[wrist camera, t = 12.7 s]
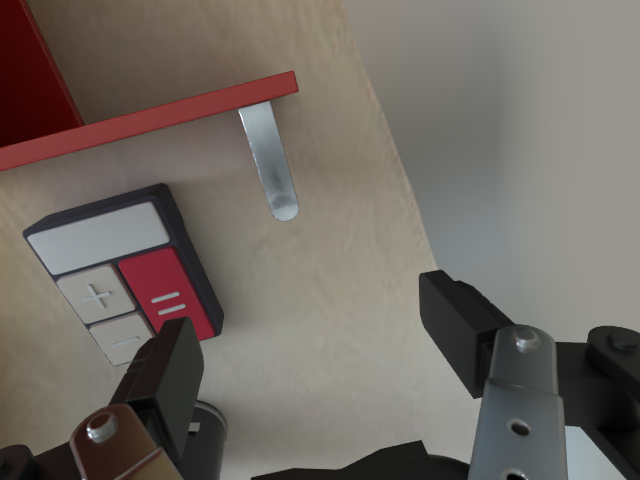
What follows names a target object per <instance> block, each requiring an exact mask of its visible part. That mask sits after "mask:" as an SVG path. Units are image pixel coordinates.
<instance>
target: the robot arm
mask: <svg viewBox="0 0 640 480" xmlns="http://www.w3.org/2000/svg"><path fill="white" fill-rule="evenodd" d="M419 302H420V316H421V320H422V323H423V326H424V328H425V329H426V331H427V332H428V334H429V335H430V337H431V338H432V339H433V341H434V342H435V344H436V345H437V347H438V348H439V350H440V351H441V352H442V354H443V355H444V357H445V358H446V360H447V361H448V363H449V364H450V365H451V367H452V368H453V370H454V371H455V373H456V374H457V376H458V377H459V378H460V380H461V381H462V383H463V384H464V386H465V387H466V388H467V390H468V391H469V393H470V394H471V396H472V397H473V399H476V398H481V397H482V402H481V408H480V413H479V419H478V424H477V430H476V435H475V441H474V447H473V452H472V458H471V463H470V465H469V464H467V463H464V462H461V461H459V460H456V459H453V458H449V457H445V456H440V455H432V454H427V451H426V449H425V447H424V445H423V443H422V440H419V441H415V442H410V443H405V444H401V445H396V446H392V447H387V448H383V449H380V450H378V451H376V452H374V453H372V454H370V455H368V456H366V457H364V458H362V459H360V460H358V461H356V462H354V463H352V464H350V465H348V466H346V467H344V468H342V469H337V470H332V469H304V468H292V469H288V470H283V471H279V472H274V473H270V474H265V475H261V476H256V477H252V478H251V480H568V472H567V471H568V470H567V454H566V437H565V426H576V427H580V428H581V429H582V430H583V431H584V432H585V433H586V434H587V435H588V436H589V438H590V439H591V440H592V441H593V442H594V443H595V444H596V446H597V447H598V448H599V449H600V450H601V451H602V452H603V454H604V455H605V456H606V457H607V458H608V459H609V460H610V462H611V463H612V464H613V465H614V466H615V467H616V468H617V469H618V471H619V472H620V473H621V474H622V475H623V476H624V477H625V478H626V479H627V480H640V333H638V332H636V331H633V330H630V329H626V328H622V327H616V326H600V327H596V328H594V329H592V330H590V332H589V334H588V339H587V343H573V342H572V343H571V342H555V341H554V339H553V338H552V337H551V336H550V335H549V334H547V333H546V332H544V331H542V330H540V329H538V328H535V327H532V326H528V325H521V324H515V323H514V322H512V321H511V320H510V319H509V318H508V317H507V316H506V315H505V314H503V313H502V312H501V311H500V310H499V309H498V308H497V307H495V305H493V304H492V303H490V301H489V300H488V299H487V298H486V297H484V296H482V294H481V293H480V292H479V291H478V290H477V289H475V288H474V287H473V286H471V285H469V284H467V283H464V282H462V281H454V280H453V279H451V278H450V277H449V276H448V275H447V274H446V273H445V272H444V271H443V270H436V271H431V272H425V273H421V274H420V275H419ZM203 370H204V360H203V354H202V351H201V347H200V344H199V341H198V338H197V335H196V332H195V329H194V325H193V322H192V320H191V318H190V317H189V316H185V317H180V318H174V319H169V320H165V321H164V323H163V325H162V327H161V329H160V331H159V333H158V335H157V337H153V338H150V339H149V340H148V341H147V342H146V343H144V344H143V345H142V346H141V347H140V348H139V349H138V351H137V353H136V355H135V356H134V358H133V360H132V363H131V364H130V366H129V368H128V369H127V373H125V375H124V377H123V379H122V380H121V382H120V384H119V386H118V388H117V390H116V392H115V393H114V395H113V397H112V399H111V401H110V403H109V404H108V406H106V407H104V408H101V409H99V410H98V411H96V412H94V413H93V414H91V415H90V416H88V417H87V418H86V419H84V420H83V421H82V422H81V423H80V424H79V425H78V426H77V428H76V429H75V430H74V432H73V434H72V436H71V438H70V441H69V442H67V443H65V444H62V445H60V446H58V447H55V448H53V449H51V450H48V451H46V452H44V453H42V454H39V455H37V456H35V457H34V455H33V454H32V452H31V451H30V449H29V448H28V447H27V446H25V445H12V446H8V447H5V448H3V449H0V480H220V475H221V467H222V461H223V452H224V444H225V441H226V435H227V424H226V421H225V419H224V417H223V416H222V415H221V413H220V412H219V411H217V410H216V409H215V408H213V407H211V406H210V405H207V404H205V403H201V402H197V401H196V399H197V395H198V391H199V387H200V383H201V379H202V375H203Z"/></svg>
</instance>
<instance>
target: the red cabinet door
mask: <svg viewBox="0 0 640 480" xmlns="http://www.w3.org/2000/svg"><path fill="white" fill-rule="evenodd" d="M298 91H299V90H298V86H297V82H296V78H295V74H294V71H289V72H285V73H281V74H278V75H274V76H270V77H266V78H262V79H259V80H255V81H251V82H247V83H244V84H240V85H236V86H232V87H228V88H225V89H221V90H217V91H213V92H210V93H206V94H202V95H198V96H194V97H191V98H187V99H183V100H179V101H176V102H172V103H168V104H164V105H160V106H157V107H153V108H149V109H145V110H141V111H138V112H134V113H130V114H126V115H123V116H119V117H115V118H111V119H107V120H104V121H100V122H96V123H92V124H89V125H85V126H81V127H77V128H73V129H70V130H66V131H62V132H58V133H55V134H51V135H47V136H43V137H39V138H36V139H32V140H28V141H24V142H20V143H17V144H13V145H9V146H5V147H2V148H0V171H4V170H8V169H12V168H16V167H19V166H23V165H27V164H31V163H34V162H38V161H42V160H46V159H50V158H53V157H57V156H61V155H65V154H68V153H72V152H76V151H80V150H84V149H87V148H91V147H95V146H99V145H102V144H106V143H110V142H114V141H117V140H121V139H125V138H129V137H132V136H136V135H140V134H144V133H147V132H151V131H155V130H159V129H162V128H166V127H170V126H174V125H177V124H181V123H185V122H189V121H192V120H196V119H200V118H204V117H207V116H211V115H215V114H219V113H222V112H226V111H230V110H234V109H237V108H239V112H240V116H241V119H242V122H243V125H244V128H245V131H246V135H247V138H248V141H249V144H250V147H251V150H252V154H253V157H254V160H255V163H256V166H257V169H258V173H259V176H260V179H261V182H262V185H263V188H264V192H265V195H266V198H267V201H268V204H269V207H270V211H271V213H272V215H273V216H274V217H275V218H276V219H277V220H280V221H290V220H292V219H294V218H295V217H296V216H297V214H298V212H299V203H298V199H297V195H296V192H295V188H294V185H293V181H292V178H291V174H290V170H289V167H288V163H287V160H286V156H285V153H284V149H283V145H282V142H281V138H280V135H279V131H278V128H277V124H276V120H275V117H274V113H273V110H272V106H271V103H270V100H271V99H275V98H279V97H282V96H286V95H289V94H293V93H296V92H298Z"/></svg>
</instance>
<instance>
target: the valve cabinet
mask: <svg viewBox="0 0 640 480" xmlns="http://www.w3.org/2000/svg"><path fill="white" fill-rule="evenodd" d="M81 126H85V125H84V122H83V120H82V118H81V116H80V114H79V112H78V110H77V108H76V106H75V104H74V101H73V99H72V97H71V95H70V93H69V91H68V89H67V87H66V85H65V82H64V80H63V78H62V76H61V74H60V72H59V70H58V68H57V66H56V63H55V61H54V59H53V57H52V55H51V53H50V51H49V49H48V47H47V44H46V42H45V40H44V38H43V36H42V34H41V32H40V30H39V28H38V25H37V23H36V21H35V19H34V17H33V15H32V13H31V11H30V9H29V7H28V4H27V2H26V0H0V148H2V147H5V146H9V145H13V144H17V143H20V142H24V141H28V140H32V139H36V138H39V137H43V136H47V135H51V134H55V133H58V132H62V131H66V130H70V129H73V128H77V127H81Z"/></svg>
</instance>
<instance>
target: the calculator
mask: <svg viewBox="0 0 640 480" xmlns="http://www.w3.org/2000/svg"><path fill="white" fill-rule="evenodd" d="M22 234H23V237H24V238H25V240H26V241H27V243H28V244H29V246H30V247H31V249H32V250H33V251H34V253H35V254H36V256H37V257H38V259H39V260H40V262H41V263H42V264H43V266H44V267H45V269H46V270H47V272H48V273H49V275H50V276H51V277H52V279H53V280H54V282H55V283H56V285H57V286H58V288H59V289H60V290H61V292H62V293H63V295H64V296H65V298H66V299H67V301H68V302H69V303H70V305H71V306H72V308H73V309H74V311H75V312H76V314H77V315H78V316H79V318H80V319H81V321H82V322H83V324H84V325H85V327H86V328H87V329H88V331H89V332H90V334H91V335H92V337H93V338H94V340H95V341H96V342H97V344H98V345H99V347H100V348H101V350H102V351H103V353H104V354H105V355H106V357H107V358H108V360H109V361H110V363H111V364H112V365H114V366H119V365H122V364H126V363H129V362H132V360H133V358H134V356H135V355H136V353H137V351H138V349H139V348H140V347H141V346H142V345H143V344H144V343H146V342H147V341H148V340H149V339H150V338H153V337H157V335H158V333H159V331H160V329H161V327H162V325H163V323H164V321H165V320H169V319H174V318H180V317H185V316H189V317H190V318H191V320H192V322H193V325H194V329H195V332H196V335H197V338H198V341H203V340H206V339H209V338H213V337H216V336H219V335H220V334H221V332H222V326H223V320H224V314H223V311H222V309H221V307H220V305H219V303H218V301H217V298H216V296H215V294H214V292H213V290H212V288H211V285H210V283H209V281H208V279H207V277H206V275H205V272H204V270H203V268H202V266H201V264H200V261H199V259H198V257H197V255H196V253H195V251H194V248H193V246H192V244H191V242H190V240H189V238H188V235H187V233H186V231H185V227H184V223H183V220H182V217H181V215H180V213H179V211H178V208H177V206H176V204H175V202H174V200H173V198H172V195H171V193H170V191H169V189H168V187H167V185H165V184H163V183H160V184H156V185H153V186H149V187H146V188H142V189H139V190H135V191H132V192H128V193H125V194H121V195H118V196H114V197H111V198H107V199H104V200H100V201H96V202H93V203H89V204H86V205H82V206H79V207H75V208H72V209H68V210H65V211H61V212H58V213H54V214H51V215H48V216H46V217H44V218H43V219H41V220H40V221H38V222H36V223H35V224H33V225H32V226H30V227H28V228H27V229H26V230H24V231H23V233H22Z"/></svg>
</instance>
